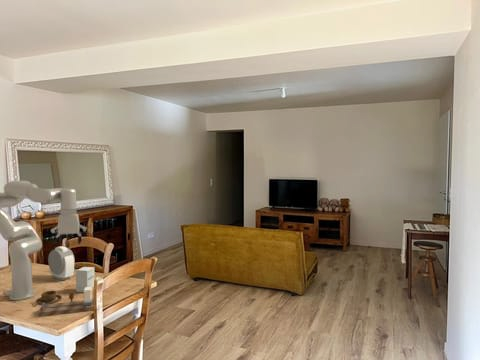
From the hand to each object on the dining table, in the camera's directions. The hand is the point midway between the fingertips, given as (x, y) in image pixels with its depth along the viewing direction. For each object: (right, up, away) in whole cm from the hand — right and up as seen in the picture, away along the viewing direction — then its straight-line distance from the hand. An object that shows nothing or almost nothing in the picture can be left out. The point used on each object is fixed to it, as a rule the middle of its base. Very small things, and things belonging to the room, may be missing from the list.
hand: (69, 244), depth 185 cm
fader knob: (+14, -28, -8) cm, 32 cm away
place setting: (-8, -31, -2) cm, 32 cm away
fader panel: (+6, -31, -10) cm, 33 cm away
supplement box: (+1, -30, +16) cm, 34 cm away
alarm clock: (-23, -29, +38) cm, 53 cm away
